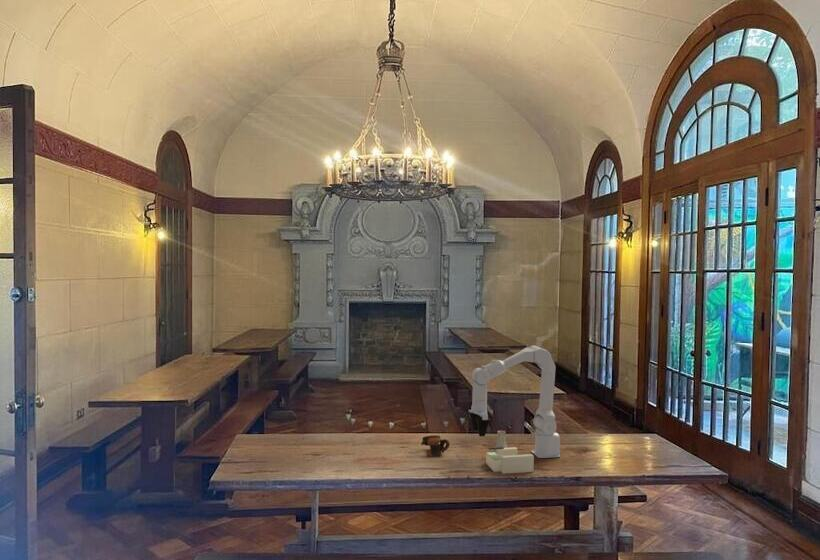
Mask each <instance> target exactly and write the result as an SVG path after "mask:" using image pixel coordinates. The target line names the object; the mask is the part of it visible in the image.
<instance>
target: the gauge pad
mask: <svg viewBox="0 0 820 560" xmlns="http://www.w3.org/2000/svg"><path fill="white" fill-rule="evenodd" d="M494 449H497V454H498V455H499V456H500V457H501V456H507V455H519V453H518V450H519V449H518V448H517V447H516V446H515V447H507V448H504V447H495V446H494V447H488V450H489V451H493V450H494Z"/></svg>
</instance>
